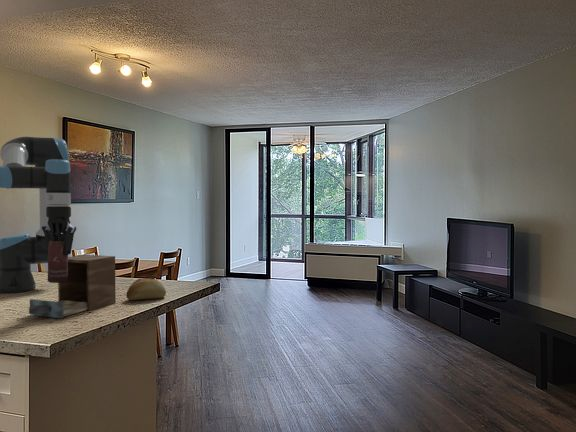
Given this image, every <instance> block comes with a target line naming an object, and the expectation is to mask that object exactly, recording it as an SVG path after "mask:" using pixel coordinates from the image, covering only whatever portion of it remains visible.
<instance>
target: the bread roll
mask: <svg viewBox="0 0 576 432" xmlns="http://www.w3.org/2000/svg"><path fill="white" fill-rule="evenodd" d="M166 295H167V289H166V288H165V286H164V285H163V283H162V282H161V281H159V280H158V279H156V278H152V277H151V278H150V277H147V278H138V279H137V280H135V281H133V282H132V283H131V284H130V286H129V287H128V288H127V291H126V299H127V300H129V301H138V300H139V301H140V300H152V299H163V298H165V296H166Z"/></svg>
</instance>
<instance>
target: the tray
mask: <svg viewBox="0 0 576 432" xmlns="http://www.w3.org/2000/svg"><path fill="white" fill-rule="evenodd" d="M83 311H88V302H87V301H84V302H76V301H66V300H62V301H59V300H57V301H51V300H42V299H33V298H32V299H29V307H28V314H29V315H30V316H39V317H46V318H47V317H48V318H53V319H55V318H56V319H64V317H67V316H70V315H71V316H72V315H74V314H78V313H82V312H83Z"/></svg>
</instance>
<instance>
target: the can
mask: <svg viewBox="0 0 576 432" xmlns="http://www.w3.org/2000/svg"><path fill="white" fill-rule="evenodd" d="M63 247H64V241H52V240H50V241H49V243H48V263H47V281H48V283H51V284H58V283H62V282H66V281H67V280H68V257H69V254H68V255H63Z"/></svg>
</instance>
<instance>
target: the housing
mask: <svg viewBox="0 0 576 432" xmlns="http://www.w3.org/2000/svg"><path fill="white" fill-rule="evenodd" d="M57 287H58V289H57V290H58V291H57V292H58V293H57V294H58V301H62V300H66V301H76V302H87V303H88V310H87V311H88V312H92V311H94V310H97V309H101V308H104V307H107V306H111V305H114V304H117V303H116V294H117V293H116V255H114V256H113V255H98V254H81V255H73V256H68V280H67V281H66V282H62V283H57Z"/></svg>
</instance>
